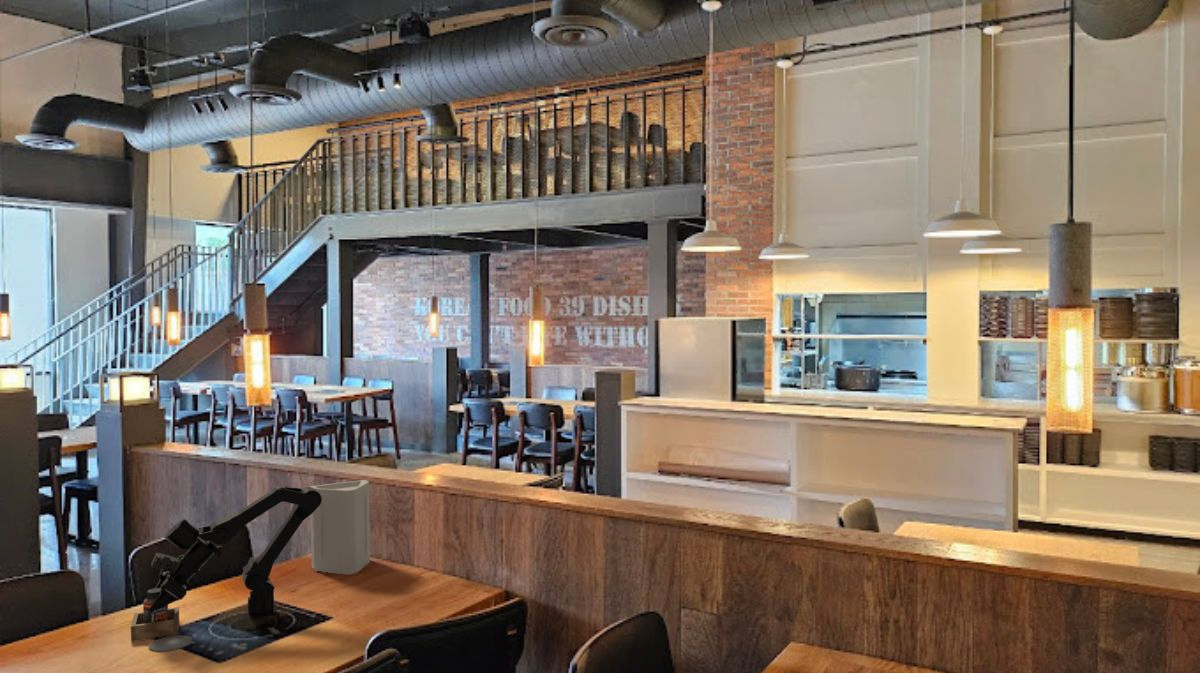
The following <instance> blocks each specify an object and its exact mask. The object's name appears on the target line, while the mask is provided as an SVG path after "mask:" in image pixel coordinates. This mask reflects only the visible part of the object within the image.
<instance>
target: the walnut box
mask: <svg viewBox="0 0 1200 673" xmlns="http://www.w3.org/2000/svg"><path fill="white" fill-rule="evenodd" d="M130 624H131V625H130V642H131V641H133V642H136V641H135V640H139V641H144V640H143V639H146V640H151V639H150V638H152V639H157V638H156V637H159V638H164V636H165V637H168V636H175V635H179V629H180V628H179V627H180V607H179V606H176V607H170V608H169V607H168V620H165V621H158V622H152V623H145V624H143V611H140V612H135V613H134V614H133V618H132V621H131V623H130Z"/></svg>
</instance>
